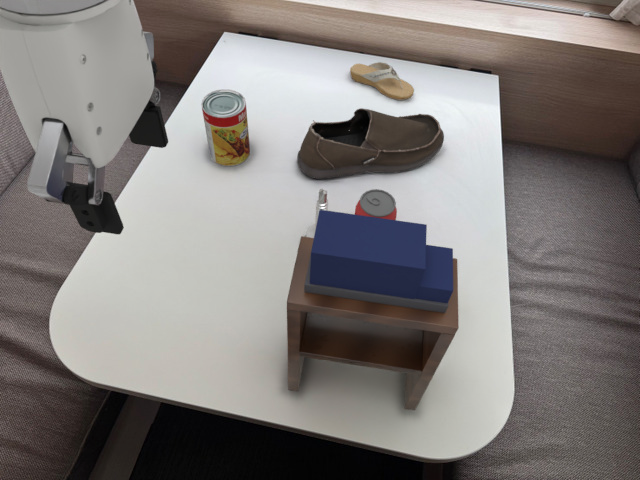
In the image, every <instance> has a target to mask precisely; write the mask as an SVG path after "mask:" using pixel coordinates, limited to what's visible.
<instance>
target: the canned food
mask: <svg viewBox="0 0 640 480" xmlns="http://www.w3.org/2000/svg"><path fill="white" fill-rule="evenodd" d="M200 106H201V110H202V117H203V123H204V128H205V133H206V140H207V141H206V142H207V147H208V153H209V158H210V159H211V160H212V162H214V163H215V164H217V165H219V166H221V167H222V166H223V167H235V166H239V165H241V164H243V163H244V162H246V161H247V160H248V158H249V157H250V155H251V154H250V153H251V147H250V135H249V123H248V121H249V120H248V113H247V111H248V109H247V101H246V98H245V97H244V95H243V94H242V93H240V92H238V91H236V90H233V89H225V88H223V89H222V88H221V89H216V90H212V91H210V92H209V93H207V94H206V95H204V97H203V98H202V100H201V104H200Z"/></svg>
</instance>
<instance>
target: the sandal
mask: <svg viewBox="0 0 640 480" xmlns="http://www.w3.org/2000/svg"><path fill="white" fill-rule="evenodd" d="M349 73H350V77H351V79H352V80H353V81H354V82H357V83H360V84H364V85H367V86H370V87H371V86H372V87H373V88H375V89H377V91H378V92H379V93H381V94H382V95H384V96H386V97H387V98H390V99H394V100H397V101H398V100H399V101H400V100H401V101H402V100H408V99H410V98H411V97H412V96H413V95H414V92H415V89H414V87H413V85H412V84H410V83H409V82H408V81H406V80H404V79H402V78H401V77H400V76H399V74H398V72H397V71H396V70H395V69H394V68H393V66H391V65H389V64H388V62H387V63H386V62H383V61H377V62H374V63H371V64H368V65H366V64H363V63H355V64H352V66H351V67H350V70H349Z"/></svg>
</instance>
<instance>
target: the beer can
mask: <svg viewBox="0 0 640 480" xmlns="http://www.w3.org/2000/svg"><path fill="white" fill-rule="evenodd" d="M396 203H397V202H396V199H395V198H394V196H393V195H392V194H391V193H390V192H388V191H386V190H383V189H378V188H375V189H374V188H373V189H369V190H367V191H364V193H362V195H361V196H360V197H359V200H358V201H357V203H356V205H355V208H354V214H355V215H362V216H369V217H376V218H383V219H390V220H397V217H398V216H397V215H398V214H397V213H398V209H397V204H396Z"/></svg>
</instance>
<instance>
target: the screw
mask: <svg viewBox="0 0 640 480" xmlns="http://www.w3.org/2000/svg"><path fill="white" fill-rule="evenodd" d="M319 210H326V211H329V199H328V190H326V189H323V188H320V189H319V190H318V199H317V200H316V206H315V223H312V224H311V225H309V226H308V227H307V229H306V230H305V237H310V238H314V235H315V230H316V225H317V220H318V215H319Z"/></svg>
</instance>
